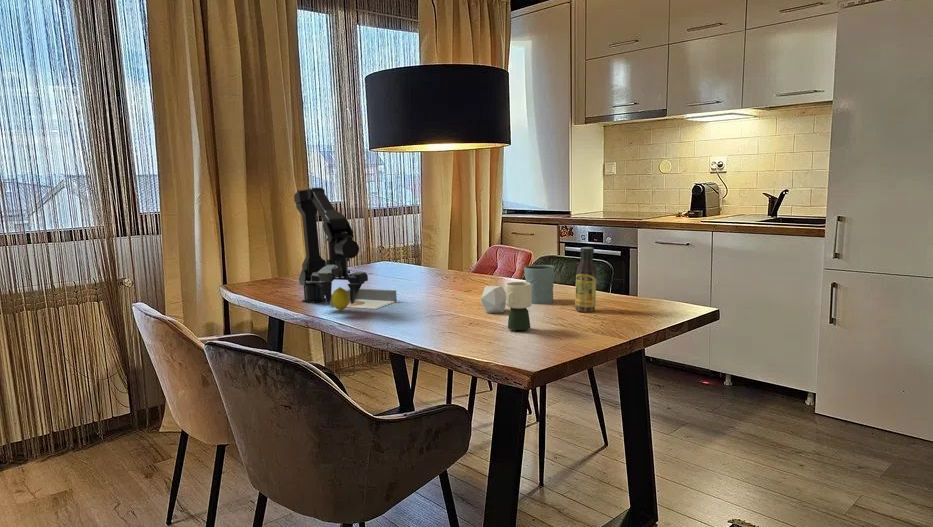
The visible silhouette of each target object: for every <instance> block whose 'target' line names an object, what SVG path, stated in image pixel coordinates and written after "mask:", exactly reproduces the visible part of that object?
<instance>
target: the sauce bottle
mask: <svg viewBox="0 0 933 527" xmlns="http://www.w3.org/2000/svg"><path fill="white" fill-rule="evenodd" d="M594 251H595V248H594V247H592V246H590V247H589V246H583V247H580V251H579V252H580V262H579V264H578V266H577V268H576V273H575V274H576V275H575V293H574V294H575V298H574V305H575V308H574V309H575V311H577V312H580V313H592V312H594V311H595V310H596V309H595V308H596V298H597V297H596V296H597V268H596V266H595V264H594Z"/></svg>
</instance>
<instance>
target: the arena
mask: <svg viewBox="0 0 933 527" xmlns="http://www.w3.org/2000/svg"><path fill="white" fill-rule="evenodd" d="M345 290H346V291H347V293H348V295H349V304H348V306H347V307H350V308H349V309H357V308H367V309H366V310H372V309H376V310H378V309H377V308H379V309H380V307H381V308H383V307H382V306H384V307H386V306H389V305H392V304H394V303H396V301H397V300H398V299H397V290H395V289H381V288H380V289H379V288H377V289H376V288H361V287H360V289H359V291H358V294H357V296H356V299H355V302H354V303H353V304H351V300H350V288H349V289H345ZM332 295H333V293H331V302H329V307H330V306H331V307H330V308H335V307H334V305H333V303H332ZM391 303H392V304H391ZM388 304H389V305H388ZM385 305H386V306H385Z"/></svg>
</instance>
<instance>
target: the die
mask: <svg viewBox="0 0 933 527" xmlns="http://www.w3.org/2000/svg"><path fill="white" fill-rule="evenodd" d="M480 297H481V298H480V303H481V305H482V307H483V309H484V311H485V313H486V314H499V313H504V311H505V309H506V307H507V305H506V299H507V296H506V292H505V289H504V287H503V286H502V285H496V286H495V285H493V286H491V285H489V286H486V285H485V286H484V290H483V292H482V294H481V296H480Z"/></svg>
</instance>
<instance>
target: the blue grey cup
mask: <svg viewBox="0 0 933 527" xmlns="http://www.w3.org/2000/svg"><path fill="white" fill-rule="evenodd" d="M523 271H524V278H525V282H528V283H531V301H532V304H531V305H548V304H552V303H553V302H554V282H555V281H554V280H555V278H554V277H555V266H554V265H551V264H533V265H526V266H524V267H523Z"/></svg>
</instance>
